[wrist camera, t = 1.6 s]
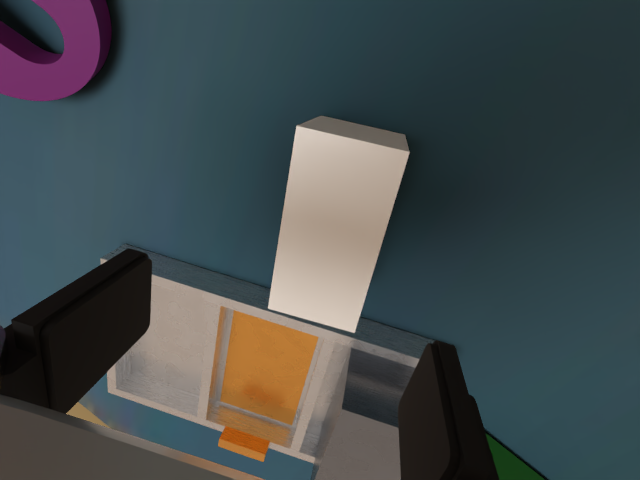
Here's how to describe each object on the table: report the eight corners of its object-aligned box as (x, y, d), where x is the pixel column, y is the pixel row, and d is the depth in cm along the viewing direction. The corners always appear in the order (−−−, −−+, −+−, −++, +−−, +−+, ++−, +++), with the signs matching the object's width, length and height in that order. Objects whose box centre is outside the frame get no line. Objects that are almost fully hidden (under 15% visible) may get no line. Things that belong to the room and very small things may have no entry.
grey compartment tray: (454, 346, 25) (474, 426, 19) (392, 462, 31) (392, 549, 25) (124, 243, 27) (50, 287, 21) (127, 372, 33) (70, 433, 27)
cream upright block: (321, 115, 20) (296, 125, 15) (405, 134, 20) (409, 152, 15) (294, 260, 25) (267, 308, 19) (362, 278, 24) (354, 332, 19)
